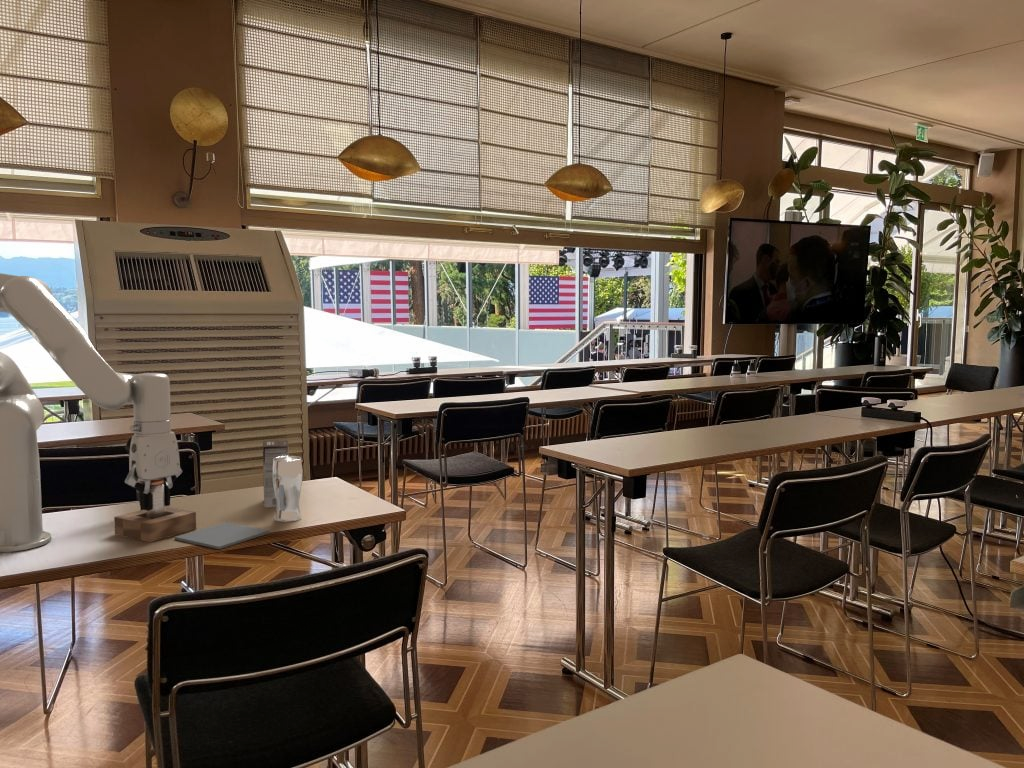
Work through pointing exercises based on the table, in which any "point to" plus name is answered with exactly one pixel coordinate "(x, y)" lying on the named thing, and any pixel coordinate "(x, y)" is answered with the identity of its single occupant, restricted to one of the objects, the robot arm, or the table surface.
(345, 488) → the table surface
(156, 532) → the eye block
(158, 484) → the steel peg
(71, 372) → the robot arm
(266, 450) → the coffee box
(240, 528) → the slate mat
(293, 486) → the beer glass
